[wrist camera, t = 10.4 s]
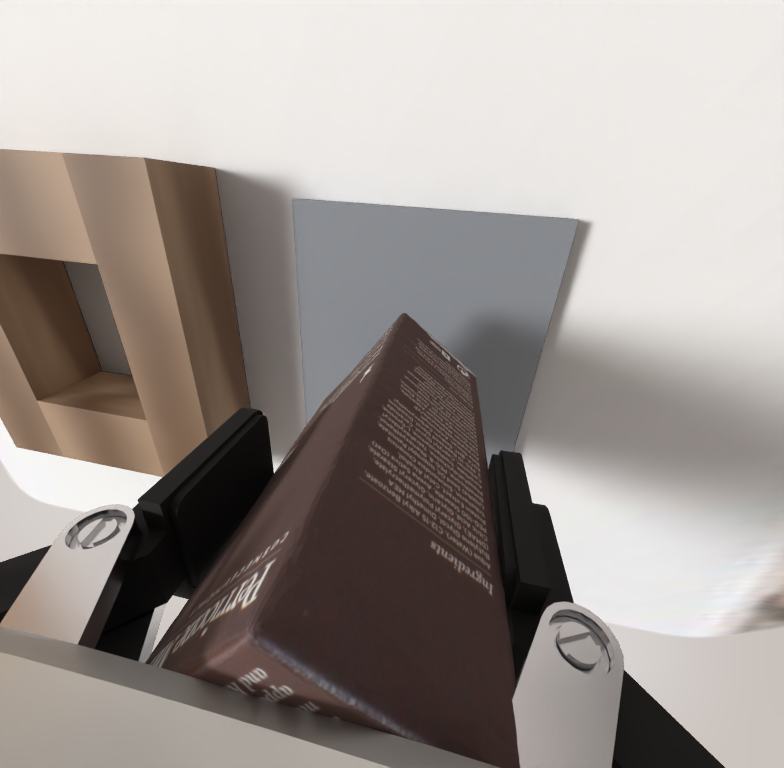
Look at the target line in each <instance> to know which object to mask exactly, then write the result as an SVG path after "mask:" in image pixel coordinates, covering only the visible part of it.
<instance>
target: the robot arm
mask: <svg viewBox="0 0 784 768" xmlns="http://www.w3.org/2000/svg"><path fill="white" fill-rule="evenodd" d="M488 471H489V478H490V486H491V495H492V502H493V510H494V517H495V525H496V534H497V538H498V550H499V556H500V563H501V573H502V581H503V588H504V592H505V603H506V611H507V618H508V625H509V631H510V636H511V646H512V653H513V661H514V670H515V679H516V690H515V693H514V696H513V699H512V703H513V710H514V716H515V723H516V731H517V745H518V753H519V763H520V768H725V767H724V766H723V765H722V764H721V763H720V762H719V761H718V760H717V759H716V758H715V757H714V756H713V755H711V754H710V753H709V752H708V751H707V750H706V749H705V748H704V747H703V746H702V745H701V744H700V743H699V742H698V741H697V740H696V739H695V738H694V737H693V736H692V735H691V734H690V733H689V732H688V731H687V730H685V729H684V728H683V726H682V725H680V724H679V723H678V722H677V721H676V720H675V719H674V718H673V717H672V716H671V715H670V714H669V713H668V712H667V711H666V710H665V709H664V708H663V707H662V706H661V705H660V704H659V703H658V702H657V701H656V700H654V698H653V697H652V696H650V695H649V694H648V693H647V692H646V691H645V690H644V689H643V688H642V687H641V686H640V685H639V684H638V683H637V682H636V681H635V680H634V679H633V678H632V677H631V676H630V675H629V674H628V673H627V672H626V671H625V670H624V661H623V654H622V651H621V648H620V645H619V642H618V641H617V639H616V638H615V636H614V634H613V633H612V631H611V630H610V629H609V627H608V626H607V625H606V624H605V623H604V622H603V621H602V620H601V619H600V618H599V617H598V616H596V615H595V614H594V613H592V612H591V611H589V610H588V609H586V608H584V607H582V606H580V605H578V604H574V602H573V598H572V595H571V591H570V587H569V583H568V580H567V576H566V572H565V569H564V565H563V561H562V557H561V554H560V550H559V546H558V543H557V539H556V535H555V531H554V528H553V524H552V520H551V516H550V513H549V510H548V508H547V507H546V506H545V505H540V504H534V503H532V500H531V495H530V490H529V486H528V481H527V477H526V472H525V468H524V463H523V459H522V455H521V454H520V453H515V452H509V451H503V450H501V451H500V452H499V455H497V454H492V456H491V460H490V464H489V468H488ZM273 475H274V471H273V463H272V454H271V446H270V438H269V430H268V421H267V418H266V416H263V413H262V412H261V411H260V410H255V409H249V408H241V409H239V410H238V411H237V412H236V413H234V414H233V415H232V416H231V417H230V418H229V419H228V420H227V421H226V422H224V423H223V424H222V425H221V426H220V427H219V428H218V429H217V430H215V431H214V432H213V433H212V434H211V435H210V436H209V437H208V438H206V439H205V440H204V441H203V442H202V443H201V444H200V445H199V446H197V447H196V448H195V449H194V450H193V451H192V452H191V453H190V454H188V455H187V456H186V457H185V458H184V459H183V460H182V461H181V462H179V463H178V464H177V465H176V466H175V467H174V468H173V469H172V470H170V471H169V472H168V473H167V474H166V475H165V476H164V477H163V478H162V479H160V480H159V481H158V482H157V483H156V484H155V485H154V486H153V487H151V488H150V489H149V490H148V491H147V492H146V493H145V494H144V495H142V496H141V497H140V498H139V499H138V502H139V503H138V504H137V505H136V506H135V507H134V508H133V509H131V508H129V507H128V506H124V505H107V506H103V507H99V508H96V509H93V510H91V511H88V512H86V513H84V514H83V515H81V516H79V517H77V518H76V519H74V521H72V522H71V523H69V524H68V525H67V526H66V527H65V528H64V529H63V530H62V531H61V533H60V534H59V535H58V537H57V538H56V540H55V541H54V543H53V544H52V545H50V546H48V547H44V548H41V549H38V550H36V551H32V552H30V553H27V554H24V555H21V556H18V557H15V558H12V559H9V560H6V561H3V562H0V768H499V767H496V766H493V765H490V764H487V763H484V762H480V761H477V760H474V759H471V758H468V757H464V756H461V755H458V754H455V753H452V752H449V751H445V750H442V749H439V748H436V747H433V746H429V745H426V744H423V743H419V742H416V741H412V740H409V739H405V738H402V737H399V736H395V735H392V734H388V733H385V732H382V731H378V730H375V729H371V728H368V727H364V726H361V725H357V724H353V723H349V722H346V721H342V720H338V719H334V718H331V717H327V716H323V715H319V714H315V713H312V712H308V711H304V710H300V709H297V708H293V707H290V706H286V705H283V704H279V703H276V702H272V701H269V700H265V699H262V698H258V697H255V696H251V695H247V694H244V693H240V692H237V691H234V690H231V689H228V688H225V687H222V686H219V685H216V684H213V683H210V682H207V681H204V680H201V679H198V678H195V677H191V676H188V675H184V674H181V673H177V672H174V671H170V670H166V669H163V668H159V667H156V666H152V665H149V664H145V662H146V661H147V660H148V658H149V657H150V655H151V653H152V649H153V645H154V642H155V639H156V635H157V632H158V629H159V625H160V622H161V618H162V615H163V611H164V608H165V604H166V603H167V602H168V601H169V599H170V598H171V597H172V595H175V596H178V597H182V598H186V599H189V598H190V597H191V595H192V594H193V592H194V591H195V589H196V588H197V586H198V585H199V583H200V582H201V580H202V579H203V578H204V576H205V575H206V573H207V572H208V570H209V569H210V567H211V566H212V564H213V563H214V561H215V560H216V558H217V557H218V555H219V554H220V553H221V551H222V550H223V548H224V547H225V545H226V544H227V542H228V541H229V539H230V538H231V536H232V535H233V534H234V532H235V531H236V530H237V528H238V526H239V525H240V523H241V522H242V520H243V519H244V518H245V516H246V515H247V513H248V512H249V510H250V509H251V507H252V506H253V505H254V503H255V502H256V500H257V499H258V497H259V496H260V494H261V493H262V491H263V490H264V488H265V487H266V485H267V483H268V482H269V480H270V479H271V477H272V476H273Z"/></svg>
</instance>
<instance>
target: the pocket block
mask: <svg viewBox="0 0 784 768" xmlns="http://www.w3.org/2000/svg"><path fill="white" fill-rule="evenodd" d="M63 261H71V262H80V263H89V264H97V266H98V269H99V272H100V275H101V278H102V281H103V285H104V288H105V291H106V294H107V297H108V300H109V303H110V307H111V310H112V313H113V316H114V319H115V322H116V326H117V329H118V332H119V335H120V338H121V341H122V344H123V348H124V351H125V354H126V357H127V360H128V363H129V366H130V370H131V373H132V376H129V375H123V374H117V373H110V372H104V371H102V369H101V367H100V364H99V361H98V358H97V355H96V353H95V350H94V347H93V344H92V342H91V339H90V336H89V333H88V331H87V328H86V325H85V322H84V319H83V317H82V314H81V311H80V308H79V306H78V303H77V300H76V297H75V295H74V292H73V289H72V286H71V283H70V281H69V278H68V275H67V272H66V270H65V267H64V264H63ZM241 408H249V409H250V402H249V395H248V389H247V382H246V375H245V368H244V362H243V355H242V348H241V342H240V335H239V328H238V321H237V315H236V308H235V301H234V295H233V288H232V281H231V274H230V268H229V261H228V254H227V247H226V241H225V234H224V227H223V221H222V214H221V207H220V200H219V194H218V187H217V180H216V173H215V168H211V167H205V166H198V165H191V164H184V163H177V162H170V161H163V160H156V159H149V158H139V157H122V156H106V155H89V154H73V153H56V152H40V151H23V150H6V149H0V418H1V420H2V421H3V423H4V425H5V427H6V429H7V430H8V432H9V434H10V436H11V438H12V440H13V441H14V443H15V445H16V447H19V448H24V449H29V450H33V451H38V452H43V453H48V454H53V455H58V456H63V457H68V458H73V459H77V460H82V461H87V462H92V463H97V464H102V465H107V466H112V467H117V468H121V469H126V470H131V471H136V472H141V473H146V474H151V475H156V476H161V477H164V476H165V475H166V474H167V473H168V472H169V471H170V470H172V469H173V468H174V467H175V466H176V465H177V464H178V463H179V462H181V461H182V460H183V459H184V458H185V457H186V456H187V455H188V454H190V453H191V452H192V451H193V450H194V449H195V448H196V447H197V446H199V445H200V444H201V443H202V442H203V441H204V440H205V439H206V438H208V437H209V436H210V435H211V434H212V433H213V432H214V431H215V430H217V429H218V428H219V427H220V426H221V425H222V424H223V423H224V422H226V421H227V420H228V419H229V418H230V417H231V416H232V415H233V414H234V413H236V412H237V411H238V410H239V409H241Z"/></svg>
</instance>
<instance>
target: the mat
mask: <svg viewBox="0 0 784 768" xmlns="http://www.w3.org/2000/svg"><path fill="white" fill-rule="evenodd" d="M292 202H293V218H294V234H295V250H296V266H297V282H298V298H299V314H300V330H301V346H302V362H303V378H304V394H305V410H306V426H307V424H308V423H309V421H310V420H311V418H312V417H313V416H314V414H315V413H316V411H317V410H318V408H319V407H320V405H321V404H322V403H323V401H324V399H325V398H326V397H327V396H328V395H329V394H330V393H331V392H333V390H334V389H335V388H336V387H337V386H338V385H339V384H340V383H341V382H342V381H343V380H344V379H345V378H346V377H347V376H348V375H349V374H350V373H351V372H352V370H353V369H354V368H355V367H356V366H357V364H358V363H359V362H360V361H361V360H362V359H363V358H364V356H365V355H366V354H367V353H368V352H369V351H370V350H371V349H372V348H373V346H374V345H375V344H376V343H377V342H378V340H379V339H380V338H381V337H382V336H383V335H384V333H385V332H386V331H387V330H388V329H389V328H390V327H391V325H392V324H393V323H394V322H395V321H396V319H397V318H398V317H399V316H400V315H401V314H402V313H407V314H408V315H409V316H410V317H411V318H412V319H414V320H415V321H416V322H417V323H418V324H419V325H420V326H421V327H422V328H423V329H425V330H426V331H427V332H428V333H429V334H431V335H432V336H433V337H434V338H435V339H436V340H437V341H438V342H439V343H441V344H442V345H443V346H445V347H446V348H447V349H448V350H449V351H450V352H451V353H452V354H453V355H454V356H455V357H456V358H457V359H458V360H460V361H461V362H462V363H464V364H465V365H466V366H467V368H468V369H469V370H470V371H471V372H472V373H473V374H474V375H475V377H476V378H477V386H478V395H479V402H480V410H481V416H482V424H483V433H484V441H485V448H486V457H487V462H488V468H489V464H490V460H491V456H492V454H497V455H499V452H500V451H501V450H503V451H509V452H513V450H514V447H515V443H516V440H517V436H518V433H519V429H520V426H521V422H522V419H523V415H524V412H525V408H526V405H527V401H528V397H529V394H530V390H531V387H532V383H533V380H534V376H535V373H536V369H537V366H538V362H539V359H540V355H541V352H542V348H543V345H544V341H545V338H546V334H547V330H548V327H549V323H550V320H551V316H552V313H553V309H554V306H555V302H556V299H557V295H558V292H559V288H560V285H561V281H562V278H563V274H564V271H565V267H566V263H567V260H568V256H569V253H570V249H571V246H572V242H573V239H574V235H575V232H576V228H577V225H578V221H579V220H578V219H568V218H554V217H540V216H527V215H513V214H500V213H486V212H473V211H459V210H446V209H432V208H418V207H405V206H391V205H378V204H364V203H351V202H337V201H324V200H310V199H295V198H292Z"/></svg>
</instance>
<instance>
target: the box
mask: <svg viewBox="0 0 784 768" xmlns="http://www.w3.org/2000/svg"><path fill="white" fill-rule="evenodd" d="M145 664H149V665H152V666H156V667H159V668H163V669H166V670H170V671H174V672H177V673H181V674H184V675H188V676H191V677H195V678H198V679H201V680H204V681H207V682H210V683H213V684H216V685H219V686H222V687H225V688H228V689H231V690H234V691H237V692H240V693H244V694H247V695H251V696H255V697H258V698H262V699H265V700H269V701H272V702H276V703H279V704H283V705H286V706H290V707H293V708H297V709H300V710H304V711H308V712H312V713H315V714H319V715H323V716H327V717H331V718H334V719H338V720H342V721H346V722H349V723H353V724H357V725H361V726H364V727H368V728H371V729H375V730H378V731H382V732H385V733H388V734H392V735H395V736H399V737H402V738H405V739H409V740H412V741H416V742H419V743H423V744H426V745H429V746H433V747H436V748H439V749H442V750H445V751H449V752H452V753H455V754H458V755H461V756H464V757H468V758H471V759H474V760H477V761H480V762H484V763H487V764H490V765H493V766H496V767H499V768H520V763H519V753H518V745H517V731H516V723H515V716H514V710H513V703H512V699H513V696H514V693H515V690H516V679H515V670H514V661H513V653H512V646H511V636H510V631H509V625H508V618H507V611H506V603H505V592H504V588H503V581H502V573H501V563H500V556H499V550H498V538H497V534H496V525H495V517H494V510H493V502H492V495H491V486H490V478H489V471H488V462H487V457H486V448H485V441H484V433H483V424H482V416H481V410H480V402H479V395H478V386H477V378H476V377H475V375H474V374H473V373H472V372H471V371H470V370H469V369H468V368H467V366H466V365H465V364H464V363H462V362H461V361H460V360H458V359H457V358H456V357H455V356H454V355H453V354H452V353H451V352H450V351H449V350H448V349H447V348H446V347H445V346H443V345H442V344H441V343H439V342H438V341H437V340H436V339H435V338H434V337H433V336H432V335H431V334H429V333H428V332H427V331H426V330H425V329H423V328H422V327H421V326H420V325H419V324H418V323H417V322H416V321H415V320H414V319H412V318H411V317H410V316H409V315H408V314H407V313H402V314H401V315H400V316H399V317H398V318H397V319H396V321H395V322H394V323H393V324H392V325H391V327H390V328H389V329H388V330H387V331H386V332H385V333H384V335H383V336H382V337H381V338H380V339H379V340H378V342H377V343H376V344H375V345H374V346H373V348H372V349H371V350H370V351H369V352H368V353H367V354H366V355H365V356H364V358H363V359H362V360H361V361H360V362H359V363H358V364H357V366H356V367H355V368H354V369H353V370H352V372H351V373H350V374H349V375H348V376H347V377H346V378H345V379H344V380H343V381H342V382H341V383H340V384H339V385H338V386H337V387H336V388H335V389H334V390H333V392H331V393H330V394H329V395H328V396H327V397H326V398H325V399H324V401H323V403H322V404H321V405H320V407H319V408H318V410H317V411H316V413H315V414H314V416H313V417H312V418H311V420H310V421H309V423H308V424H307V426H306V427H305V429H304V430H303V432H302V433H301V434H300V436H299V437H298V439H297V440H296V442H295V444H294V445H293V446H292V448H291V449H290V451H289V452H288V454H287V455H286V457H285V458H284V460H283V461H282V463H281V464H280V466H279V467H278V469H277V470H276V472H275V473H274V475H273V476H272V477H271V479H270V480H269V482H268V483H267V485H266V487H265V488H264V490H263V491H262V493H261V494H260V496H259V497H258V499H257V500H256V502H255V503H254V505H253V506H252V507H251V509H250V510H249V512H248V513H247V515H246V516H245V518H244V519H243V520H242V522H241V523H240V525H239V526H238V528H237V530H236V531H235V532H234V534H233V535H232V536H231V538H230V539H229V541H228V542H227V544H226V545H225V547H224V548H223V550H222V551H221V553H220V554H219V555H218V557H217V558H216V560H215V561H214V563H213V564H212V566H211V567H210V569H209V570H208V572H207V573H206V575H205V576H204V578H203V579H202V580H201V582H200V583H199V585H198V586H197V588H196V589H195V591H194V592H193V594H192V595H191V597H190V598H189V600H188V601H187V603H186V604H185V606H184V607H183V609H182V610H181V612H180V613H179V615H178V616H177V618H176V619H175V620H174V622H173V623H172V624H171V626H170V627H169V629H168V630H167V632H166V633H165V635H164V636H163V638H162V639H161V641H160V642H159V644H158V645H157V647H156V648H155V649H154V651H153V652H152V654H151V655H150V657H149V658H148V660H147V661H146V662H145Z"/></svg>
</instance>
